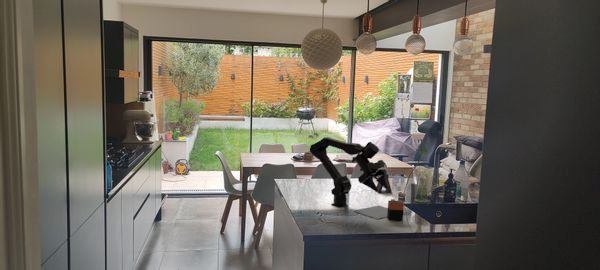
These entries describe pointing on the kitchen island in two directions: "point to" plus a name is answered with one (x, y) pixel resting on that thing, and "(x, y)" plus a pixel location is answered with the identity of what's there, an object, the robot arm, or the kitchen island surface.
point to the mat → (374, 212)
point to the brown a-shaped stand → (385, 188)
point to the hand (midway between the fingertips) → (382, 189)
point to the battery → (395, 210)
